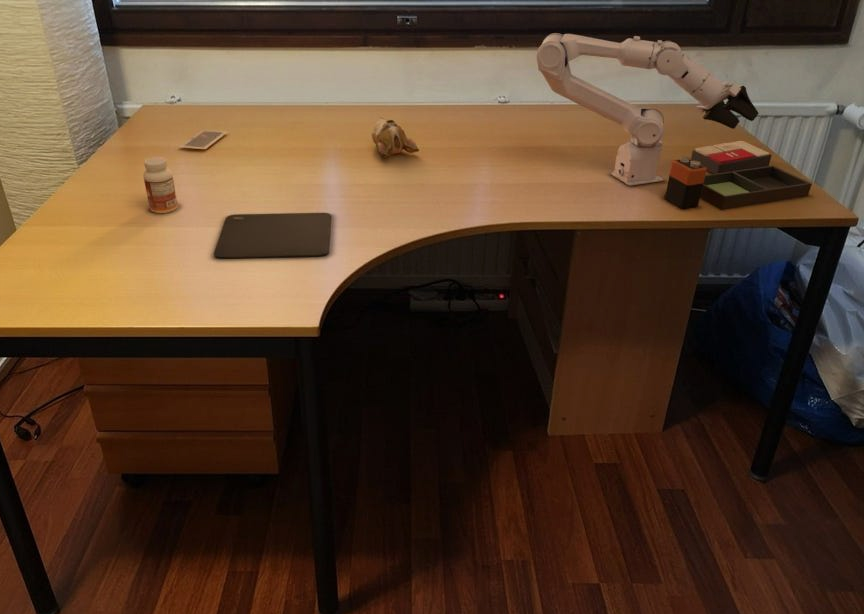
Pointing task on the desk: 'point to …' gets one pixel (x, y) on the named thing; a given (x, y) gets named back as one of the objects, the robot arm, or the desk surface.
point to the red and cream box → (731, 157)
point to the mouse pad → (274, 235)
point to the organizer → (752, 187)
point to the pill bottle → (159, 185)
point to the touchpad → (203, 139)
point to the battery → (685, 183)
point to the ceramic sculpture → (391, 138)
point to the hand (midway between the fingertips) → (745, 121)
